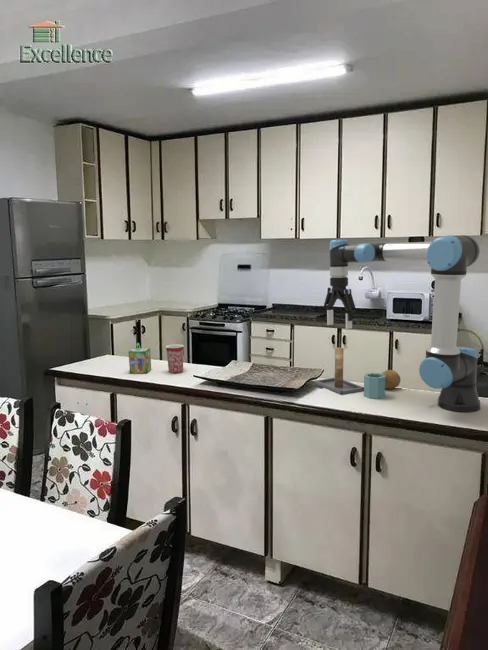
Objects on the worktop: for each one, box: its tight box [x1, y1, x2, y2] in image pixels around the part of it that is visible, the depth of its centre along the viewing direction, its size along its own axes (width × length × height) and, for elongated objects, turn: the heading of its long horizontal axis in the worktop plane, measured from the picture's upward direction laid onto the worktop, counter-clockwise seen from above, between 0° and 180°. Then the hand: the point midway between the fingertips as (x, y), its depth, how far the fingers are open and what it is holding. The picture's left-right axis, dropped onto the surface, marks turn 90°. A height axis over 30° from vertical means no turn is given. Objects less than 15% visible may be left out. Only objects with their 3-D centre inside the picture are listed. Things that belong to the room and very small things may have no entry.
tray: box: [314, 377, 364, 396], centre depth 228 cm, size 20×12×2 cm, turn 25°
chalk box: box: [127, 342, 152, 375], centre depth 270 cm, size 9×9×15 cm
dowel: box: [334, 347, 345, 388], centre depth 227 cm, size 4×4×17 cm
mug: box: [165, 343, 185, 374], centre depth 269 cm, size 13×9×14 cm
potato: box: [380, 369, 401, 390], centre depth 227 cm, size 10×14×8 cm
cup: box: [363, 372, 386, 400], centre depth 214 cm, size 8×8×10 cm
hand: (339, 326), depth 224 cm, fingers open, 13 cm apart
